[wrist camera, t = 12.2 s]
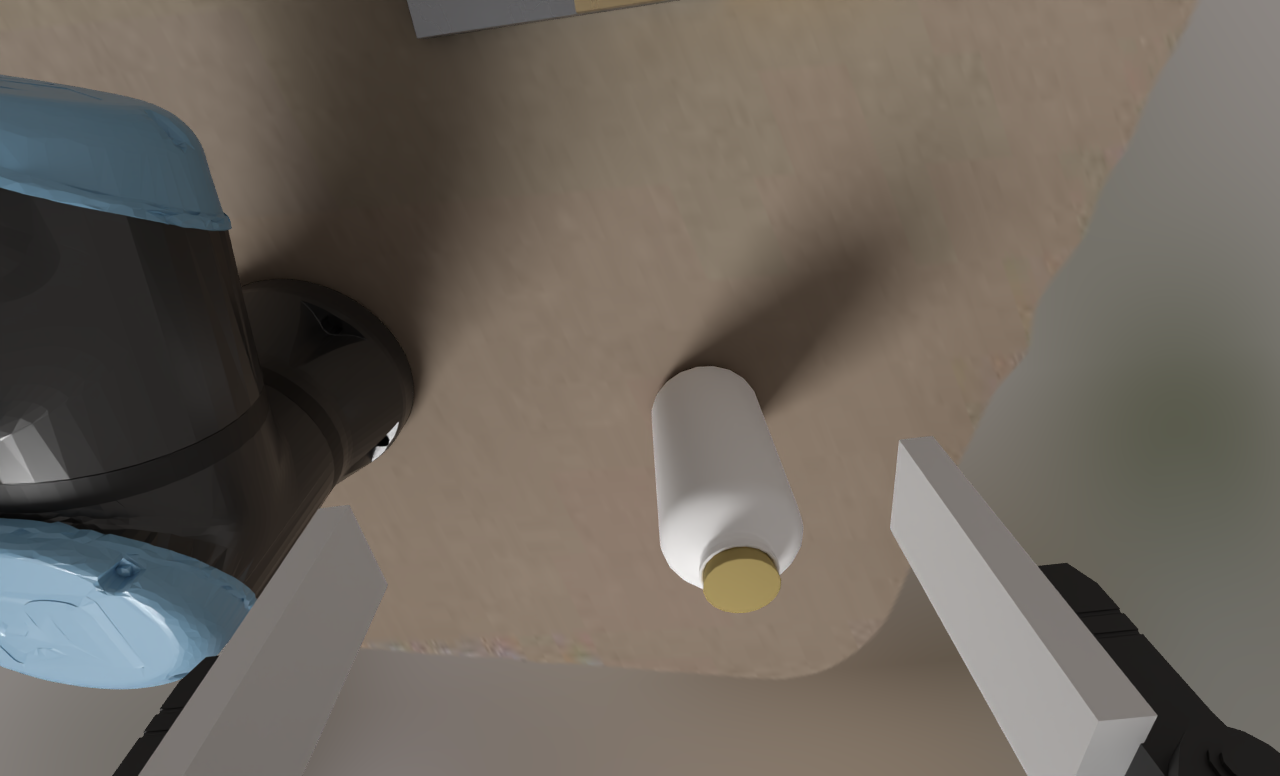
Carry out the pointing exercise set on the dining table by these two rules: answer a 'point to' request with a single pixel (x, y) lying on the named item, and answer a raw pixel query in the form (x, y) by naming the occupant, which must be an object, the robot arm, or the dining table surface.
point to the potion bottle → (722, 490)
